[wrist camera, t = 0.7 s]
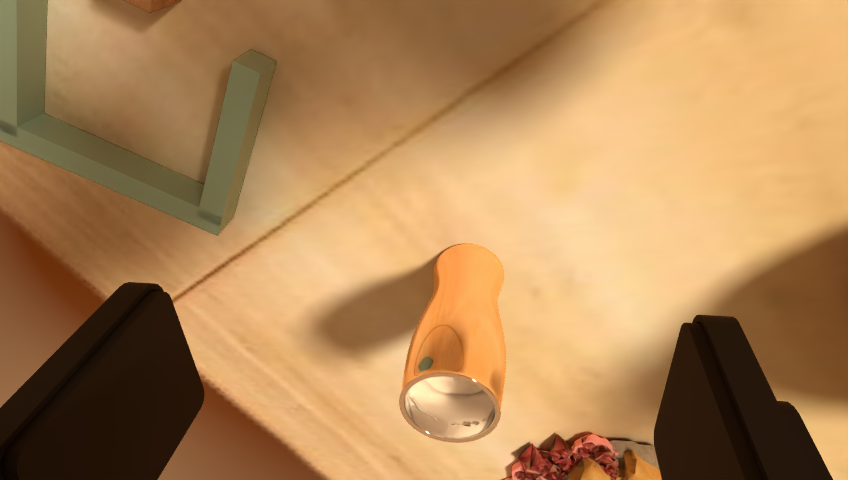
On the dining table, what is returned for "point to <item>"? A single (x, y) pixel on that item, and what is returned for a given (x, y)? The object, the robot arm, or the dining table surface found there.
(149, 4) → the t block
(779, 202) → the dining table surface
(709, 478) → the robot arm
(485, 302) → the beer glass
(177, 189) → the frame
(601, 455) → the pastel sphere sculpture
